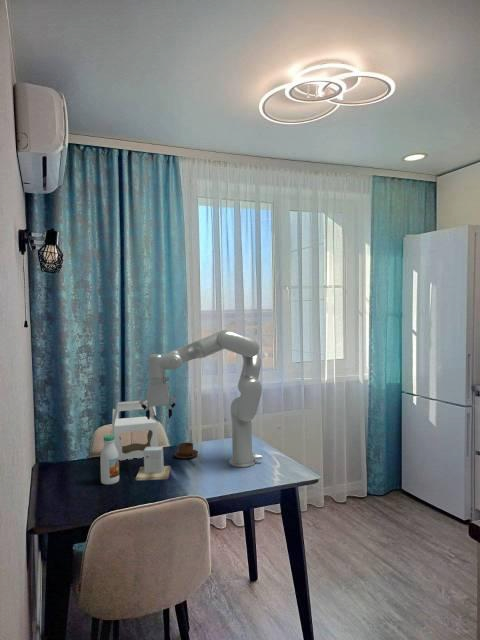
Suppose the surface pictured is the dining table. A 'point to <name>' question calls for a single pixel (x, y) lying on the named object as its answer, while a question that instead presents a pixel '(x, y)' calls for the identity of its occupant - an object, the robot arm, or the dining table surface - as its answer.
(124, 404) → the gable box
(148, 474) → the oak board
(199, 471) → the dining table surface
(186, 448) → the cup and saucer
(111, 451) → the milk bottle
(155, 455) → the small box
